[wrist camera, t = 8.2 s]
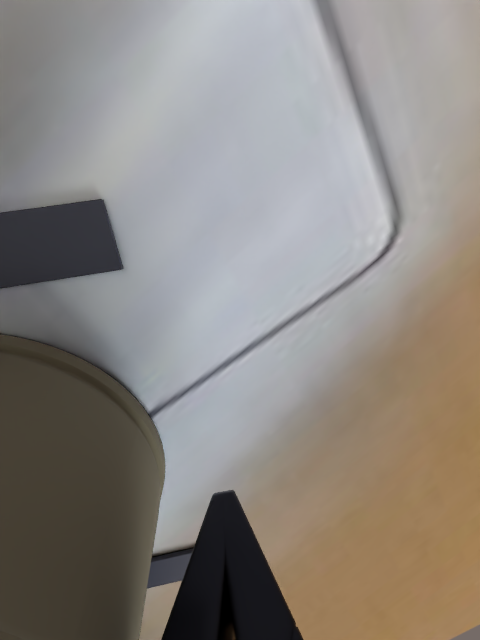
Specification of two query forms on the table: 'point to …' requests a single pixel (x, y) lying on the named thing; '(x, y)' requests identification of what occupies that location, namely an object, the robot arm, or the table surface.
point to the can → (73, 498)
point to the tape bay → (64, 262)
